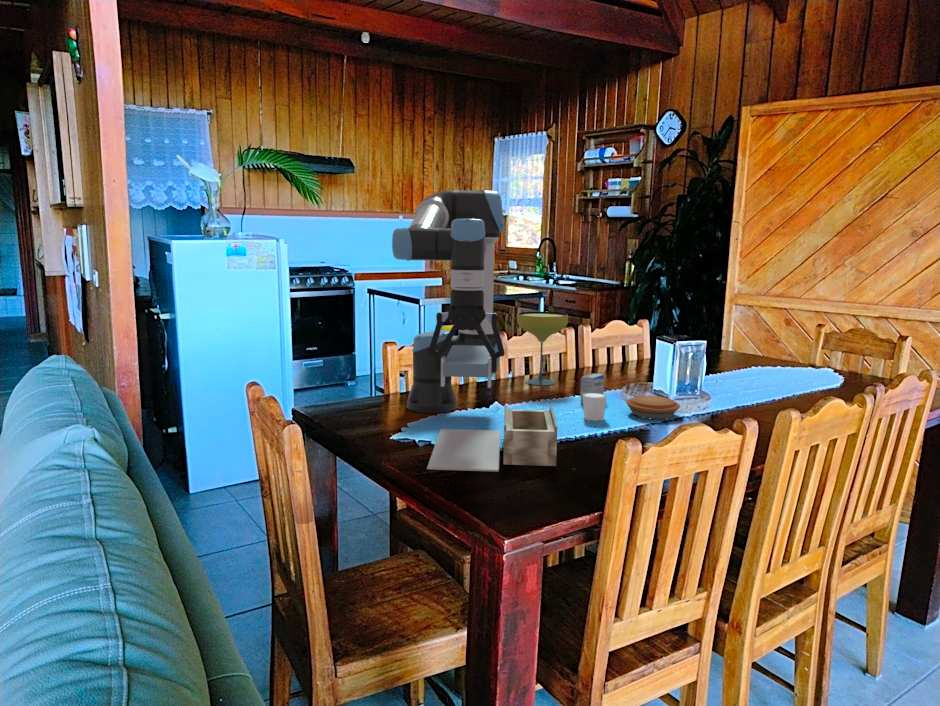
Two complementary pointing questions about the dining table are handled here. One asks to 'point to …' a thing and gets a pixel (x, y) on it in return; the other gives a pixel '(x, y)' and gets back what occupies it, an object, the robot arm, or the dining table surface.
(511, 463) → the wooden box
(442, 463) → the mat
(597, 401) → the white cup
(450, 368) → the pale grey block
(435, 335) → the robot arm
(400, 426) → the dining table surface
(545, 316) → the cocktail glass
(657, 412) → the pie
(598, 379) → the medicine box
